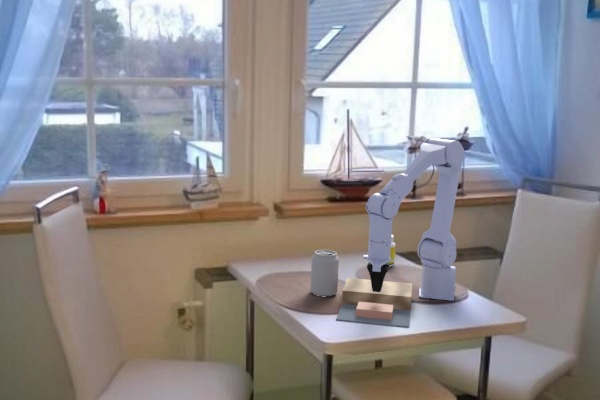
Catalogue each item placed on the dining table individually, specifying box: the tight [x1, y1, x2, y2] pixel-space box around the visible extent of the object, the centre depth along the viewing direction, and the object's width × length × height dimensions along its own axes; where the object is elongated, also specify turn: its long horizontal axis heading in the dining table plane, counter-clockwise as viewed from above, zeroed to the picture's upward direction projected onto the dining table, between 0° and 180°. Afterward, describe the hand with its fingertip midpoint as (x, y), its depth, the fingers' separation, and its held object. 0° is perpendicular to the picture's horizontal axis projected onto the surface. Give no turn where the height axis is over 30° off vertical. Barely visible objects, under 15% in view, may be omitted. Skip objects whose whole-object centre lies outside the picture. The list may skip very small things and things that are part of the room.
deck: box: [341, 277, 413, 311], centre depth 197 cm, size 18×12×4 cm, turn 80°
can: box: [309, 249, 340, 297], centre depth 200 cm, size 8×8×12 cm
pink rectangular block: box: [356, 302, 393, 320], centre depth 185 cm, size 9×6×2 cm, turn 80°
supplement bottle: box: [388, 234, 396, 268], centre depth 232 cm, size 5×5×10 cm
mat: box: [335, 303, 411, 328], centre depth 185 cm, size 18×12×1 cm, turn 80°
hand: (376, 291), depth 189 cm, fingers closed
